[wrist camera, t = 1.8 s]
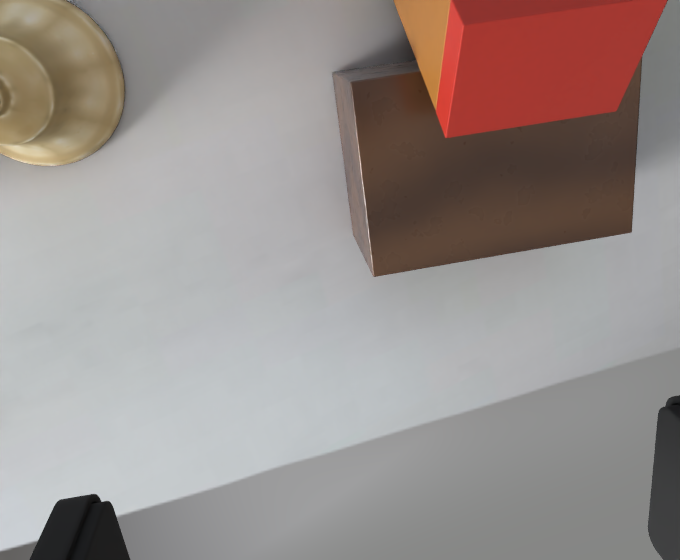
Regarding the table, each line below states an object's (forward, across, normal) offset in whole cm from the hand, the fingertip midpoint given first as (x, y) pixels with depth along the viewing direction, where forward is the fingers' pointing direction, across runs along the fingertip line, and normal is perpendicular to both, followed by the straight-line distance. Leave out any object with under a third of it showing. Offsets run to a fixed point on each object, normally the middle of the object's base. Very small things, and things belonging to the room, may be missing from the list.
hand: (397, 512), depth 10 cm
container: (+25, -9, -9) cm, 28 cm away
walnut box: (+25, -9, -1) cm, 27 cm away
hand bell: (+25, +12, -7) cm, 29 cm away
